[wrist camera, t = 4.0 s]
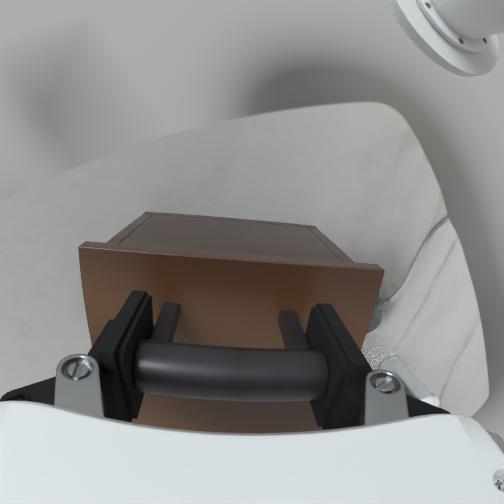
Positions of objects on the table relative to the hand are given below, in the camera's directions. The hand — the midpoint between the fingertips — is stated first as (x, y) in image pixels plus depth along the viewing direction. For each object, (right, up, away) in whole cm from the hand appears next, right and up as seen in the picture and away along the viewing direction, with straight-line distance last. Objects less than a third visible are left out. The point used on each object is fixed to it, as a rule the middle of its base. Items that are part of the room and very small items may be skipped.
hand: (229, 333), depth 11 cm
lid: (-1, -5, +4) cm, 6 cm away
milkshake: (+16, -10, +19) cm, 27 cm away
